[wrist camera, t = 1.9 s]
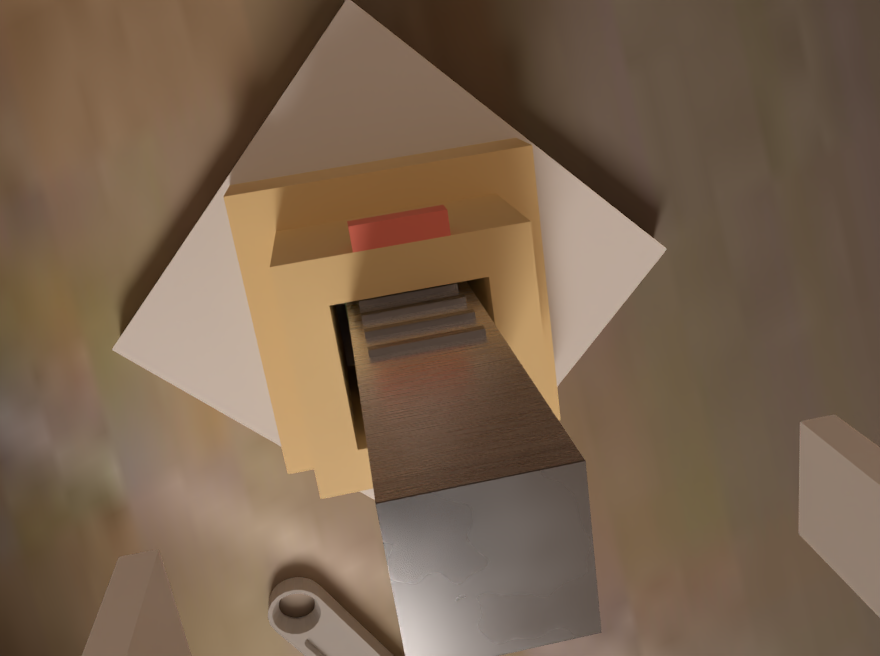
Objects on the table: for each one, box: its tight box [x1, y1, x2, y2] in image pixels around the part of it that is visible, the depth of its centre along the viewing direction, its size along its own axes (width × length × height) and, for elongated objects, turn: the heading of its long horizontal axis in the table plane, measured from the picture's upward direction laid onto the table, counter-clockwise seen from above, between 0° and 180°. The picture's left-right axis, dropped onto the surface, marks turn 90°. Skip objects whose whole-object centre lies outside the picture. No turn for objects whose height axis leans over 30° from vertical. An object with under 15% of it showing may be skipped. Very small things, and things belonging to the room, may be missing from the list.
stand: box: [112, 0, 667, 500], centre depth 31 cm, size 23×23×9 cm
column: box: [345, 281, 601, 656], centre depth 24 cm, size 4×4×18 cm
